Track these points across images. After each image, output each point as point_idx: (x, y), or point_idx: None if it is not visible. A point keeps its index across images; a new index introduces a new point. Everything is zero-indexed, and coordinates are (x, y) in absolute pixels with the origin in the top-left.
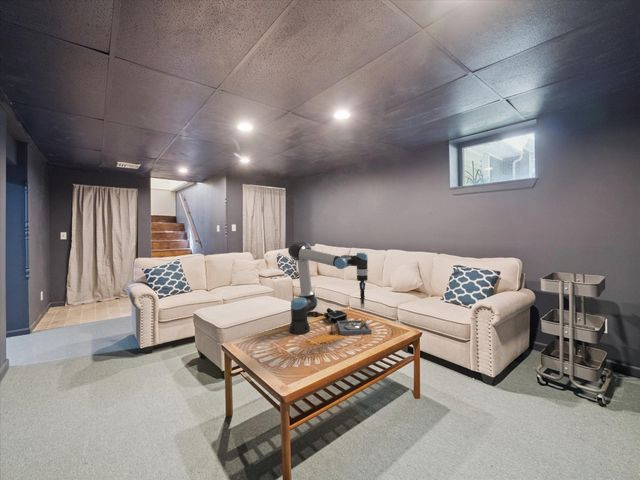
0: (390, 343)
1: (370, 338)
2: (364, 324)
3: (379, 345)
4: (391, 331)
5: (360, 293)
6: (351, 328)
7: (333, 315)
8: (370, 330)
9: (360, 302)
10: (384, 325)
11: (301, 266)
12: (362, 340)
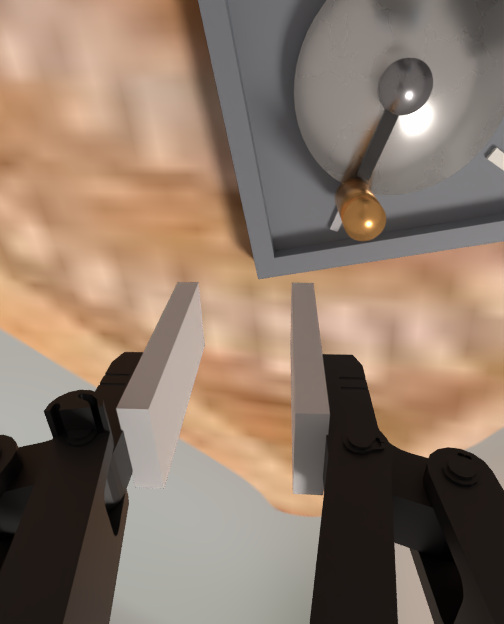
0: (96, 371)
1: (153, 251)
2: (474, 216)
3: (38, 304)
4: None
5: (452, 532)
6: (297, 64)
7: None
8: (257, 269)
9: (293, 333)
10: (458, 376)
11: None
12: (92, 183)
